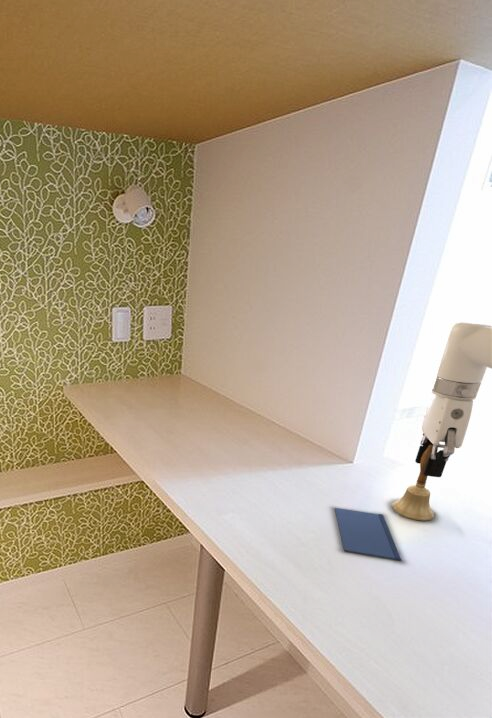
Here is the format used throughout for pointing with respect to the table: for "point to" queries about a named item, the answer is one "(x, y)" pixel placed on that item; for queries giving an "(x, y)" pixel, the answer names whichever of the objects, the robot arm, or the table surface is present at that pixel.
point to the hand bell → (416, 496)
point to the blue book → (366, 534)
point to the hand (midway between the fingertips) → (427, 468)
